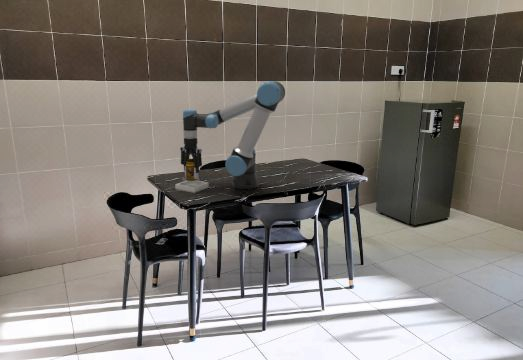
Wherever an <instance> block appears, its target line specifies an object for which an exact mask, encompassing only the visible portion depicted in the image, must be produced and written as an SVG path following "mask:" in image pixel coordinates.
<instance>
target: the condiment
mask: <svg viewBox="0 0 523 360" xmlns="http://www.w3.org/2000/svg"><path fill="white" fill-rule="evenodd" d="M186 163H187V164H186V177H185V178H182V179H181V180H183V181H190V182H192V181H200V178H199V177H198V178H196V179H194V167H195V164H194V161H193V158H189V159H187V160H186Z"/></svg>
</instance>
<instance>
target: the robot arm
mask: <svg viewBox="0 0 523 360" xmlns="http://www.w3.org/2000/svg"><path fill="white" fill-rule="evenodd" d="M285 95H286V89H285V87H284V85H283V84H282V83H281V82H280V81H279V82H278V81H276V80H275V81H272V80H270V81H265V82H263V83H261V84H260V86H259V87H258V88H257V90H256V93H253V94H251V95H250V96H247V97H245V98H242V99H241V100H238V101H236V102H234V103H232V104H229V105H227V106H225V107H223V108H221V109H217V110H216V111H213V112H209V113H198V111H197V110H196V109H184V110H183V111H182V122H183V123H182V125H183V144H184V146H182V147H180V148H179V149H180V165H183V171H184V177H185V178H186V164H187V163H186V160H187V159H190V156H191V157H192V159H193V161H194V164H195V167H194V179H196V178H198V179H199V173H200V167H202V166H203V165H202V164H203V163H202V162H203V161H202V159H203V158H202V152H203V151H202V148H198V138H197V137H198V128H202V129H203V128H204V129H205V128H206V129H217V128H218V126H219V125H221V124H224V123H225V122H229V121H230V120H232V119H234V118H237V117H239V116H242V115H244V114H247V113H249V112H251V111H252V114H251V116H250V119H249V120H248V123H247V125H246V127H245V129H244V132H243V134H242V135H241V139H240V140H239V143H238V145H237V146H234V147H233V149H232V151H231V154H230V156H228V158H227V159H226V161H225V164H224V165H225V166H224V167H225V168H226V169H225V170H226V171H227V172H228V173H229V174H230V175H231V176H234V178H233V181H232V188H233V189H236V188H237V190H243V189H248V190H254V189H253V188H255V189H257V188H258V187H259V181H258V177H257V174H256V157H257V156H256V154H257V153H256V149H255V147H256V146H257V143H258V141H259V140H260V136H261V135H262V132H263V131H264V128H265V125H266V124H267V121H268V120H269V118H270V115H271V114H272V113H275V112H276V109H277V107H278V104H279V103H280V102H282V101H283V99H284V98H285ZM256 187H257V188H256Z"/></svg>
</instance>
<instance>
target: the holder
mask: <svg viewBox="0 0 523 360" xmlns="http://www.w3.org/2000/svg"><path fill="white" fill-rule="evenodd" d="M209 184H210V183H209V182H207V181H200V180H196V181H192V182H190V181H186V180H183V181H181V182H179V183H175V185H174V186H175V188H174V189H175V191H176V190H177V191H182V192H188V193H192V194H196V193H199V192H200V191H204V190H206V189H208V188H210V186H209Z"/></svg>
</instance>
